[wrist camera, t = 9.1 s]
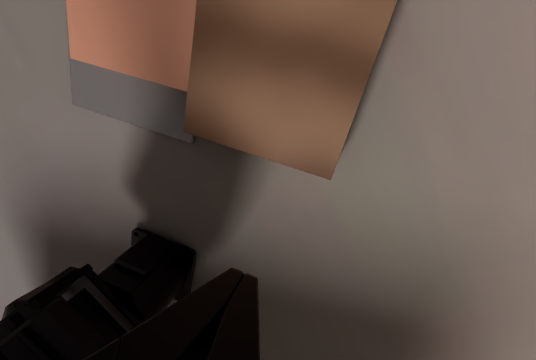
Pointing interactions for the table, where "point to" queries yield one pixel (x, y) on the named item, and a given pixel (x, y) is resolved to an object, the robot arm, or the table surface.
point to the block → (135, 37)
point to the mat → (129, 98)
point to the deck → (282, 75)
